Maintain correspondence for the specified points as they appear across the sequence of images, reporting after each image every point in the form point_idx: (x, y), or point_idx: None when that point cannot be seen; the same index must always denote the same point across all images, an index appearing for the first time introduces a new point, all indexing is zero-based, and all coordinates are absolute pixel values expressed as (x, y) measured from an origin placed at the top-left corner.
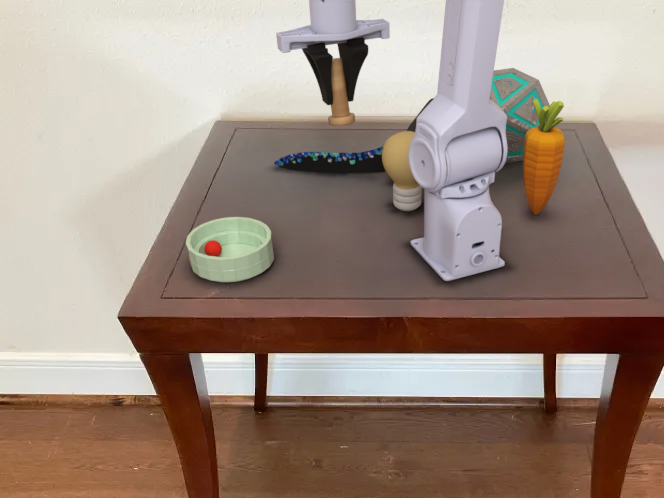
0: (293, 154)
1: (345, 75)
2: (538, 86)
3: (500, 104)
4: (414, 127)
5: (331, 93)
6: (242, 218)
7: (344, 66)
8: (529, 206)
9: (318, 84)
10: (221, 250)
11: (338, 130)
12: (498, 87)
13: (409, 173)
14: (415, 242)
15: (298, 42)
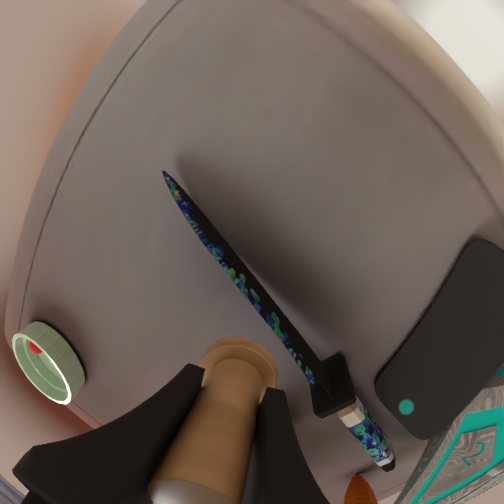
0: (182, 210)
1: (254, 467)
2: None
3: None
4: (484, 268)
5: None
6: (49, 358)
7: (252, 492)
8: (350, 482)
9: (158, 391)
10: (42, 351)
11: (401, 91)
12: (473, 492)
13: None
14: None
15: (2, 500)
